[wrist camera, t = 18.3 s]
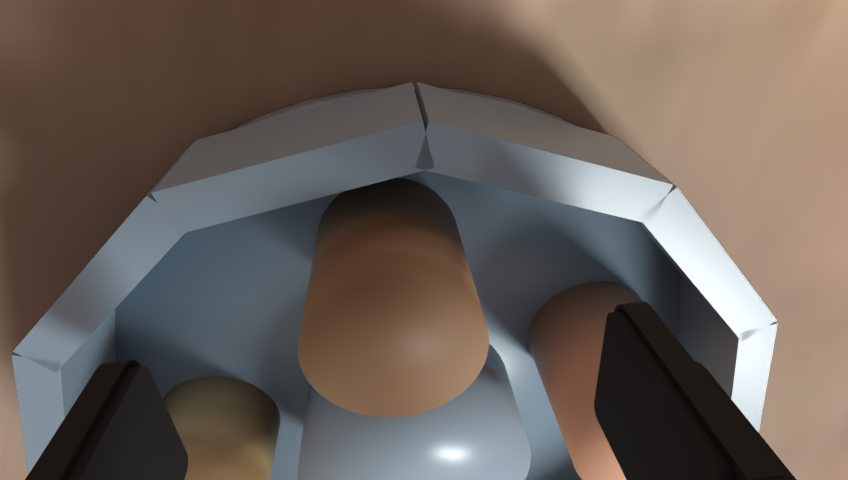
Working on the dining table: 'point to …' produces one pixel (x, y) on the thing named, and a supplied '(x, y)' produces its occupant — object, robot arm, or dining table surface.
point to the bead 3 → (578, 369)
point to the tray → (485, 251)
